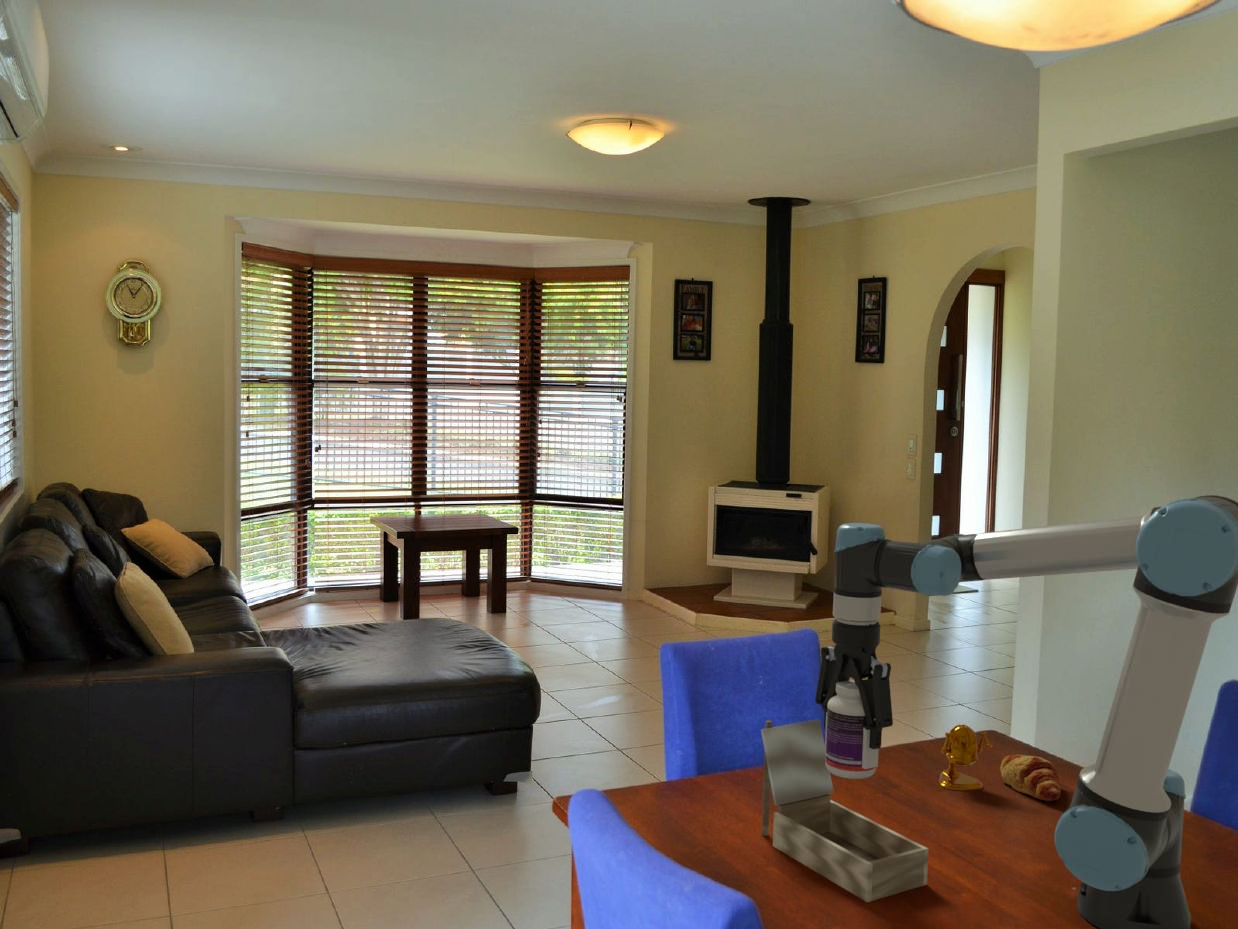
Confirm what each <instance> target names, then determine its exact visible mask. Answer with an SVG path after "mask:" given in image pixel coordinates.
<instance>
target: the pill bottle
mask: <svg viewBox="0 0 1238 929" xmlns="http://www.w3.org/2000/svg"><path fill="white" fill-rule="evenodd" d="M836 693H837V695H836V696H834V697H832V698H831V699H830V700H829V702H828V707H827V737H826V759H825V765H826V768H827V769H828V771H830V774H833V775H834V776H836V777H839V778H844V779H853V780H854V779H857V780H858V779H861V780H862V779H866V778H867V779H868V778H871V776H873V775H874V774H875V773H876V771H877V770H876V769H877V767H873V768H869V769H864V768H862V752H863V728H864V727H865V726H868V725H867V721H866V717H865V712H864V708H863V704H862V700H861V696H860V692H859V688H858V686H856V685H855V681H854V680H849V681H842V682H837V683H836ZM875 720H876V718H874V721H875Z"/></svg>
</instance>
